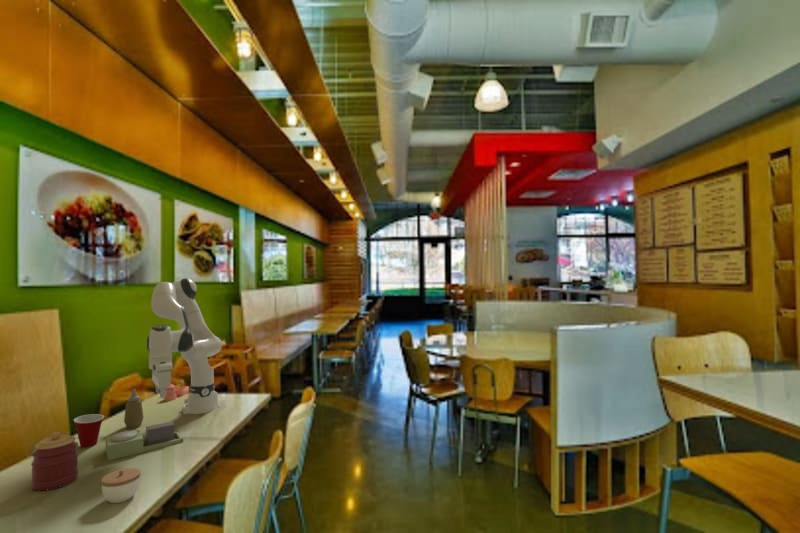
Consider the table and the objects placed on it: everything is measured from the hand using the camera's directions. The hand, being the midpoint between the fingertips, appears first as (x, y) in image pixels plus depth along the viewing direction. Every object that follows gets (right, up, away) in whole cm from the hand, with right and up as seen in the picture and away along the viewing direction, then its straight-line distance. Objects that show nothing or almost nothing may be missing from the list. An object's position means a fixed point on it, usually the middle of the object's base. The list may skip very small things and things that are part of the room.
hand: (160, 395), depth 185 cm
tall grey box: (0, -21, 0) cm, 21 cm away
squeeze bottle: (-25, -22, +22) cm, 40 cm away
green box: (-4, -21, -4) cm, 22 cm away
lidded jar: (+13, -20, -46) cm, 52 cm away
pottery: (-32, -23, +72) cm, 83 cm away
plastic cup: (-31, -22, 0) cm, 37 cm away
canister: (-18, -21, -34) cm, 44 cm away
